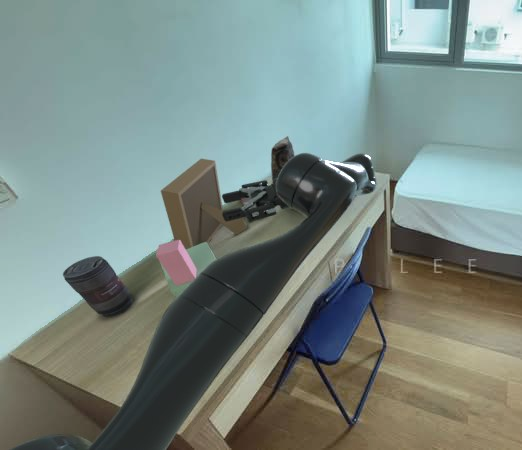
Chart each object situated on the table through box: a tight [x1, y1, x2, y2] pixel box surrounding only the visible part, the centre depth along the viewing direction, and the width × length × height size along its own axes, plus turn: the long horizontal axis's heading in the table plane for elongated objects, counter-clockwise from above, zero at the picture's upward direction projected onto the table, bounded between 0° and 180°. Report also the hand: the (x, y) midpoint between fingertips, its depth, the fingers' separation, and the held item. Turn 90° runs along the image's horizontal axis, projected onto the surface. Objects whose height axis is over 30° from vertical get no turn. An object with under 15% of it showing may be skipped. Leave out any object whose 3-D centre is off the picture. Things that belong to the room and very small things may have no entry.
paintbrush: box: [239, 199, 251, 209], centre depth 121 cm, size 4×3×20 cm
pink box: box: [155, 240, 197, 285], centre depth 77 cm, size 4×4×10 cm
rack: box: [159, 242, 218, 299], centre depth 86 cm, size 16×12×8 cm
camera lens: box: [62, 255, 134, 318], centre depth 78 cm, size 8×8×15 cm
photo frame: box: [160, 158, 248, 249], centre depth 99 cm, size 15×22×25 cm
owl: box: [270, 135, 295, 181], centre depth 132 cm, size 13×13×20 cm
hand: (223, 207), depth 68 cm, fingers open, 8 cm apart
